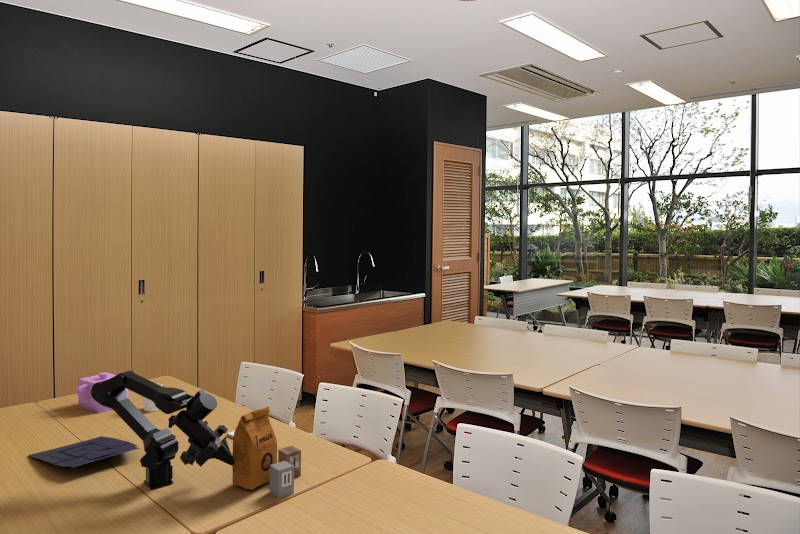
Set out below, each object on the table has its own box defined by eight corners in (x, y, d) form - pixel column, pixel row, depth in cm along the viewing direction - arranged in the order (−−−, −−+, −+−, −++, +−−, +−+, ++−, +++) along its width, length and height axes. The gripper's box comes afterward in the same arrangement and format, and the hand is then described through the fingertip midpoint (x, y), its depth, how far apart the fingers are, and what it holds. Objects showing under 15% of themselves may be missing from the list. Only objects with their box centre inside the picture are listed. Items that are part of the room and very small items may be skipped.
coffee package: (282, 480, 177) (283, 408, 176) (250, 494, 167) (251, 419, 165) (259, 471, 183) (260, 402, 181) (227, 485, 172) (227, 412, 171)
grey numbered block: (279, 498, 165) (279, 471, 164) (269, 492, 169) (269, 465, 168) (294, 493, 168) (294, 466, 168) (284, 487, 172) (285, 460, 172)
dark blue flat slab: (67, 478, 172) (66, 466, 172) (27, 463, 190) (26, 452, 190) (146, 455, 191) (145, 443, 191) (103, 443, 209) (102, 433, 209)
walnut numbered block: (287, 480, 177) (287, 454, 176) (278, 474, 181) (278, 449, 180) (301, 476, 180) (301, 450, 180) (292, 470, 184) (292, 445, 184)
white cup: (158, 412, 238) (157, 388, 237) (138, 412, 238) (138, 387, 237) (166, 406, 245) (165, 383, 245) (147, 406, 246) (147, 382, 245)
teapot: (144, 401, 252) (144, 369, 251) (86, 416, 231) (86, 381, 230) (124, 395, 260) (123, 364, 259) (66, 409, 239) (66, 375, 238)
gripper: (181, 436, 177) (219, 470, 179) (164, 460, 159) (206, 498, 161) (208, 410, 178) (245, 444, 180) (194, 431, 159) (235, 469, 161)
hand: (233, 464), depth 170 cm, fingers closed
